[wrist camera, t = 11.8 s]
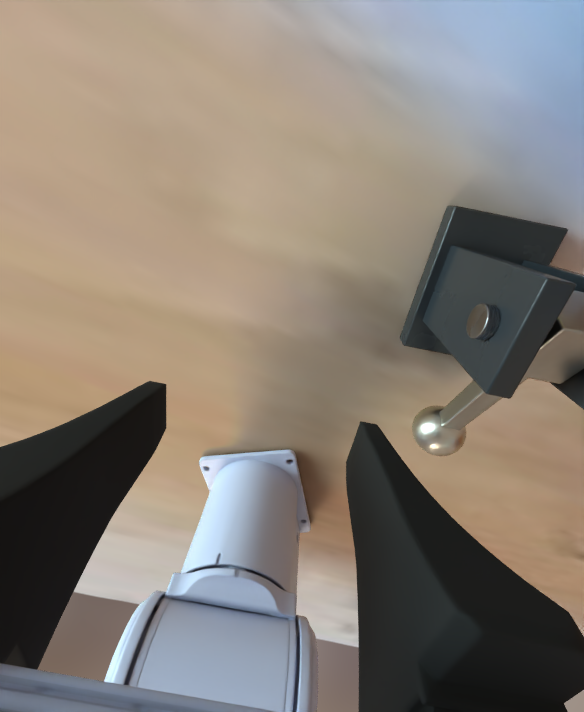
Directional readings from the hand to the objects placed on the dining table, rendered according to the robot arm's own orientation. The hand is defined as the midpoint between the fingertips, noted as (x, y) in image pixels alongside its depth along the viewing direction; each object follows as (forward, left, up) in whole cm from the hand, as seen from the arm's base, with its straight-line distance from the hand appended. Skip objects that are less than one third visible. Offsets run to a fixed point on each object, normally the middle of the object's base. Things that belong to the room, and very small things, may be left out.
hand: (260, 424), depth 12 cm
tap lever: (-2, -10, -6) cm, 12 cm away
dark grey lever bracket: (+1, -11, -10) cm, 16 cm away
